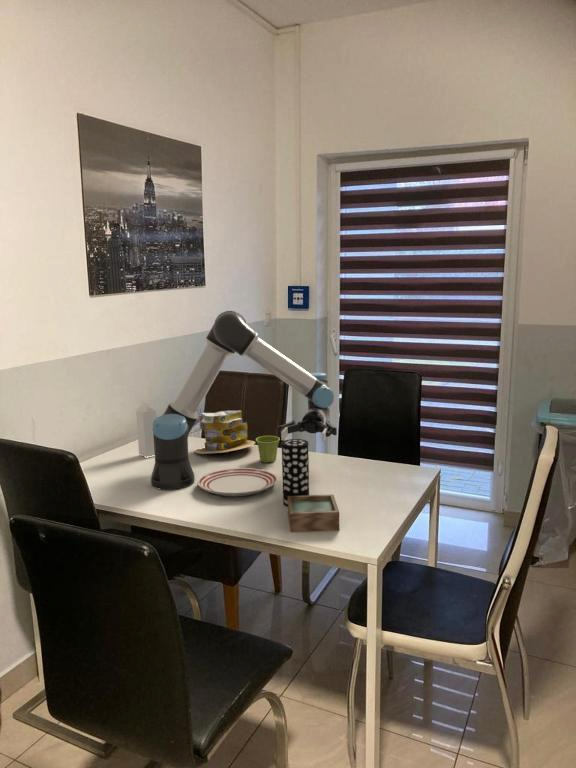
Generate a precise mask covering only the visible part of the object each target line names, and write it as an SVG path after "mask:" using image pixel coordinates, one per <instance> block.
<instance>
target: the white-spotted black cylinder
mask: <svg viewBox="0 0 576 768" xmlns="http://www.w3.org/2000/svg"><path fill="white" fill-rule="evenodd" d="M309 462H310V461H309V441H308V440H306V439H302V438H291V439H284V440H282V441H281V465H282V467H281V469H282V471H281V473H282V477H281V478H282V503H283V504H282V505H283V506H284V507H287V508H288V496H305V495H310V477H309V476H310V474H309V473H310V468H309V467H310V465H309V464H310V463H309Z"/></svg>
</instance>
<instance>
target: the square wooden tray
mask: <svg viewBox="0 0 576 768" xmlns="http://www.w3.org/2000/svg"><path fill="white" fill-rule="evenodd" d="M287 517H288V524H289V530H290V531H289V532H290V533H301V532H303V533H305V532H328V531H329V532H331V531H340V509H339V507H338V504H337V501H336V498H335V496H334V494H313V495H312V494H309V495H305V496H288V507H287Z"/></svg>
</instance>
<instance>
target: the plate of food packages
mask: <svg viewBox="0 0 576 768" xmlns="http://www.w3.org/2000/svg"><path fill="white" fill-rule="evenodd" d="M242 413H243V412H242V410H239V409H238V410H236V409H235V410H229V409H228V410H221V411H216V412H202V413H200V415H199V430H203V431H204V439H205V442H204V446H205V448H202V449H198V448H196V449H197V450H196V449H195V450H194V452H195V453H196V454H203V455H204V454H206V455H207V454H208V455H209V454H218V453H219V454H221V453H227V455H228V454H229V452H233V451H238V450H242V449H246V448H248V447H251V446H253V445H255V444H256V441H254V440H249V438H248V437H249V435H248V421H246V422H243V417H242Z"/></svg>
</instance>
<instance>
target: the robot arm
mask: <svg viewBox="0 0 576 768" xmlns="http://www.w3.org/2000/svg"><path fill="white" fill-rule="evenodd" d="M246 321H247V320H246V319H245V318H244V316H243V315H241V314H240V313H239V312H236V311H233V310H226V311H223V312H221V313H220V314H218V315H217V317H216V318H215V320H214V323H213V325H212V326H211V328H210V330H209V332H208V334H207V335H206V337H205V340H206V343H207V344H206V346H205V348H204V350H203V351H202V353H201V355H200V356H199V359H198V360H197V361H196V364H195V366H194V367H193V369H192V371H191V372H190V375H189V376H188V378H187V380H186V381H185V384H184V386H183V387H182V389H181V391H180V392H179V394H178V396H177V398H176V399H175V400H173V401H170V402H169V404H168V406H167V408H165V411H164V413H163V414H162V415H160V416H157V418H156V419H155V420H154V422H153V428H152V430H153V437H154V454H155V457H154V465H153V468H152V473H151V477H150V484H152V485H151V486H152V487H153V486H154V487H153V488H155V487H156V488H155V489H158V488H160V489H159V490H166V489H169V490H178V489H184V488H187V487H189V486H191V485H193V484H194V483H195V482H194V481H195V480H196V479H195V478H196V477H195V473H194V469H193V468H192V465H191V463H190V459H189V444H188V443H189V440H188V438H189V435H190V432H191V431H192V429H193V427H194V425H195V423H196V422H197V420H198V418H199V415H198V413H197V412H198V410H199V408H200V406H201V404H202V403H203V401H204V399H205V398H206V396H207V394H208V392H209V390H210V389H211V387H212V385H213V383H214V382H215V380H216V378H217V376H218V375H219V373H220V371H221V369H222V368H223V365H224V364H225V362H226V361H227V359H228V357H229V356H233V355H234V354H235V353H236V354H238V355H239V356H241V357H243V356H245V357H247V358H249V360H251V361H254V362H255V363H256V364H258V365H259V366H260V367H262V368H263V369H265V370H266V371H268V372H269V373H271V374H273V375H274V376H275V377H276V378H278V379H279V380H281V381H283V382H284V383H285V384H287V385H288V386H290V387H291V388H292V389H294V390H295V391H296V392H298V393H300V394H301V395H303V396H304V397H305V398H307V412H306V413H305V415H303V417H302V419H301V421H298V422H296V420H292V421H290V422H287V423H284V424H281V425H278V426H277V434H278V435H280V438H281V439H280V440H281V441H285V440H286V439H287V437H288V435H289V434H293V433H297V432H299V433H302V432H307V433H308V434H317V433H320V434H321V441H322V442H325V441H326V440H327V438H329V437H330V436H332V435H333V436H337V433H338V432H337V431H338V430H337V427H336V426H335V425H334V424H332V423H331V421H329V420H328V419H329V418H330V412H331V411H330V406H332V404H334V401H335V394H334V391H333V389H332V388H331V387H330V386H329V384H328V383H329V380H328V374H327V373H325V372H311V373H310V372H308V371H306V370H305V369H304V368H303V367H301V366H300V365H298V364H297V363H295V362H294V361H292V360H291V359H290V358H288V357H287V356H285V355H284V354H283V353H281V352H280V351H278V350H277V349H276V348H274V347H273V346H271V345H270V344H268V343H267V342H265V341H264V340H263V339H261V338H260V337H259V335H258V332H257V331H255V330H253V328H251V327H250V326H249V325H248V324H247V322H246Z"/></svg>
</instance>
